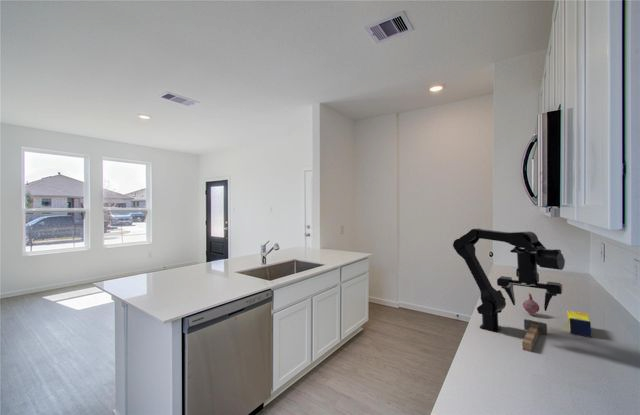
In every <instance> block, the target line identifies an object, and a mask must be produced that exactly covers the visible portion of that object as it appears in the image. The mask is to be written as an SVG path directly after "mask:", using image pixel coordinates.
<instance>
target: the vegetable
mask: <svg viewBox="0 0 640 415" xmlns="http://www.w3.org/2000/svg"><path fill="white" fill-rule="evenodd" d="M522 307H523V309H524V311H525V312H527V313H528V314H529V315H533V314H536V313H539V311H540V305H539V304H538V303H537V302H536V301H535V300H534V299H533V296H532V294H531V293H530V292H528V299H526V300H524V301H523V303H522Z"/></svg>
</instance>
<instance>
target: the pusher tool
mask: <svg viewBox="0 0 640 415" xmlns="http://www.w3.org/2000/svg"><path fill="white" fill-rule="evenodd" d="M523 328H524V330H525V331H527V332H526V333H525V335H524V336H523V337H524V338H523V339H522V341H521V342H522V343H521V345H522V350H523V351H527V352H529V353H532V351H533V349H534V346H535V344H536V343H537V342H536V341H537V340H538V337H539V335H540V334H543V335H548V324H547V323H546V322H541V321H535V320H532V319H525V318H524V319H523Z"/></svg>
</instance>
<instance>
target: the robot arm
mask: <svg viewBox="0 0 640 415" xmlns="http://www.w3.org/2000/svg"><path fill="white" fill-rule="evenodd" d="M480 239H482V240H487V241H496V242H502V243H507V244H509V245H511V246H514V247H513V248H512V249H510V250H509V252H510V253H514V254H516V257H517V258H516V259H517V260H516V261H517V268H516V271H515V274H516V275H515V276H516V277H517V278H518V280H517V279H513V278H512V277H511V276H504V275H501V276H500V277H499V278H497V279H496V280H497V281H496V285H497V286H498V287H501V289H504V291H505V293H506V294H507V295H508V297H509V300H510V301H511V303H512V305H513V306H516V297H515V293H514V286H519V287H527V288H534V289H542V290H546V291H545V295H544V304H543V309H544V311H545V312H547V310H548V307H549V304H550V301H551V299H552V297H557V295H562V294H563V291H564V290H563V284H562V283H560V282H553V281H547V282H546V283H541V282H540V275H539V272H538V267H539V268H542V269H544V268H545V269H551V270H557V271H558V270H559V271H562V270H564V268H565V265H566V264H565V263H566V260H565V257H564V255H563V253H562V250H561V249H556V248H555V249H550V248H549V249H548V248H546V247H545V246H544V245H543V243H542V242H541V240H539V239H538V236H537V234H536V233H534V232H532V231H513V232H508V231H501V230H500V231H499V230H489V229H484V228H483V229H482V228H471V229H470V230H469V231H468V232H467V233H465V234H463V235H462V236H460V237H459V238H456V239H455V240H453V243H452V247H453V250H455V252H456V253H457V255H458V256H460V257H461V258H462V259H463V260H464V261H465V264H466V265H467V267H468V269H469V271H470V273H471V275H472V277H473V279H474V281H475V283H476V285H477V287H478V289H479V290H480V301H481V304H480V305H479V306H477V307H476V310H477V313H478V314H479V315H481V317H482V318H481V322H482V323H481V325H479V329H483V330H485V331H486V330H487V331H490V332H494V333H495V332H496V333H499V331H500V330H501V328H502V326H501V325H499V314H500V313H502V311H503V310H505V308H506V306H507V302H506V300H507V299H506V298H505V297H504V294H503V292H502V291H501V289H498V290H497V289H496V288H494V287H493V285H492V283H491V282H490V280H489V278H488V276H487V274H486V273H485V271H484V268H483V266H482V265H481V262H479V259H478V258H477V256H476V247H475V244H477V243H478V242H479V240H480ZM539 282H540V283H539Z"/></svg>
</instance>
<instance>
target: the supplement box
mask: <svg viewBox="0 0 640 415" xmlns="http://www.w3.org/2000/svg"><path fill="white" fill-rule="evenodd" d="M566 312H567V325H568V330H569V334H571V335H577V336H582V337H587V338H591V337H592V325H591V320H590V318H589V316H588V313H587V312H578V311H573V310H567V311H566Z"/></svg>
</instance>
